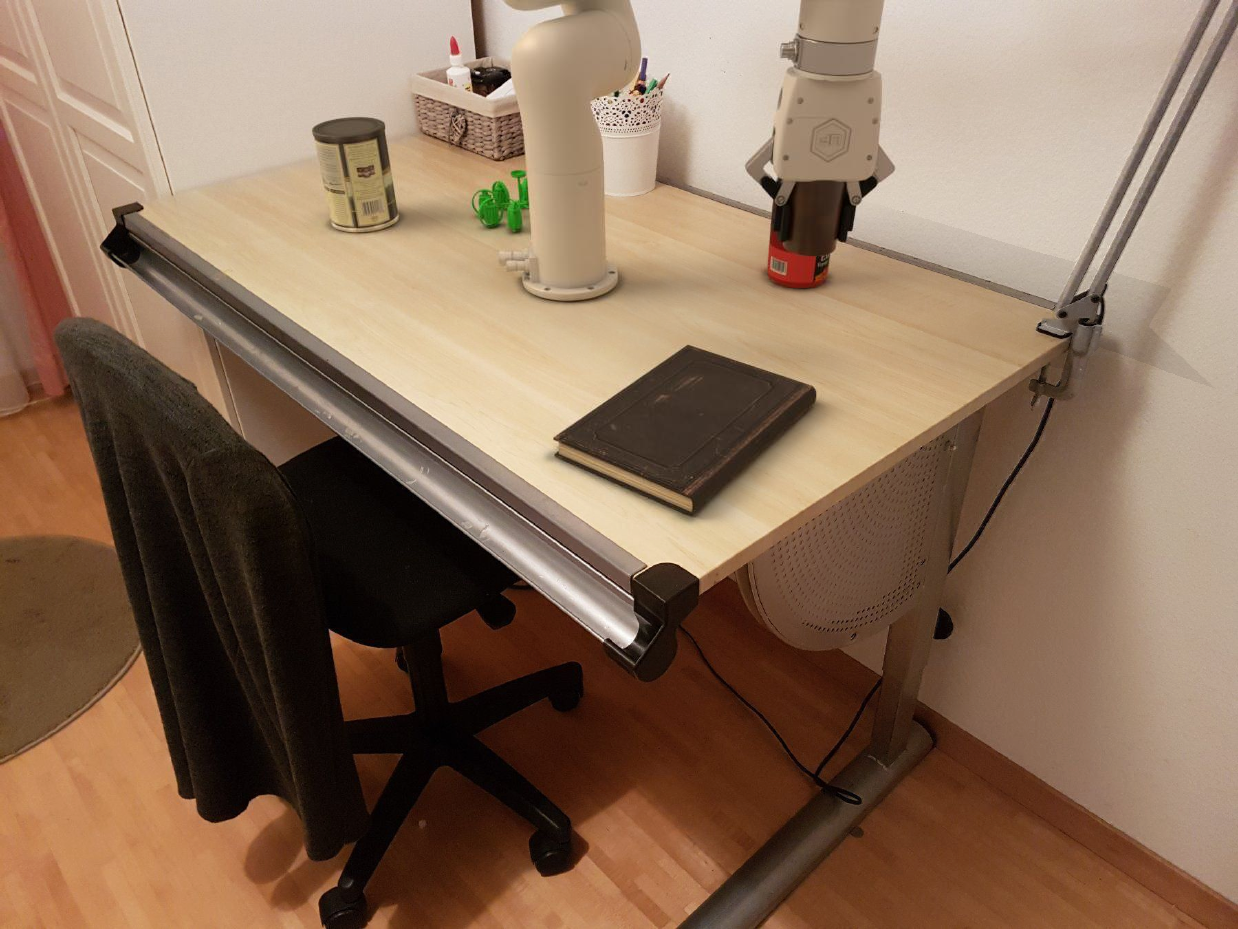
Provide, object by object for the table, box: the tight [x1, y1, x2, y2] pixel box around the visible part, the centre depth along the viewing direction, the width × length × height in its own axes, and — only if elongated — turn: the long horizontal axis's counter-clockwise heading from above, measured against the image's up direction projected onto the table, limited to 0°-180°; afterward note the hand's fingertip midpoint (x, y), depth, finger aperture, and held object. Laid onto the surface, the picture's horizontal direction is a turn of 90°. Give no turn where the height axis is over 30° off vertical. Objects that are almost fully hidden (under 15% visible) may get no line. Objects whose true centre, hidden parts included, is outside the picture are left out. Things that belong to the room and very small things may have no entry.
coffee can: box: [311, 116, 400, 233], centre depth 137 cm, size 10×10×14 cm
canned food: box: [766, 199, 831, 289], centre depth 119 cm, size 8×8×11 cm
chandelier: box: [471, 169, 529, 233], centre depth 139 cm, size 15×15×7 cm
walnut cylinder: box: [783, 181, 846, 256], centre depth 96 cm, size 6×6×8 cm
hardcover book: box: [552, 344, 817, 516], centre depth 91 cm, size 16×23×2 cm
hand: (810, 235), depth 98 cm, fingers closed on walnut cylinder, 5 cm apart
